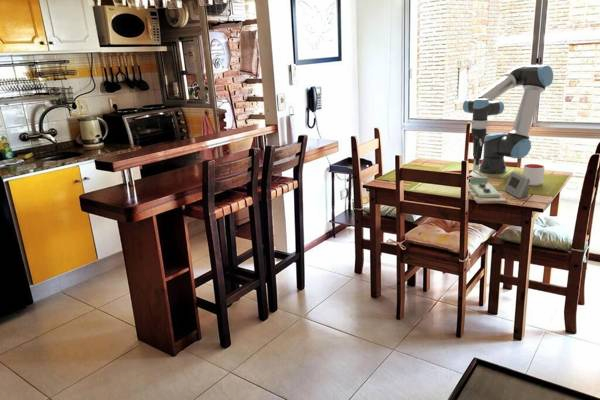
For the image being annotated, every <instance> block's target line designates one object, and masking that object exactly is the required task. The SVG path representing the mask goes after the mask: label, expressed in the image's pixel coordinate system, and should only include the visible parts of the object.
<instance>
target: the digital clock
mask: <svg viewBox="0 0 600 400" xmlns="http://www.w3.org/2000/svg"><path fill="white" fill-rule="evenodd" d="M529 182H530V179H529V178H527V177H525V176H523V174H521V173H519V172H516V171H511V173H510V174H509V177H508V179H507V181H506V183H505V186H504V191H506V192H507V193H508V194H510V195H511V196H513V197H514V198H518V199H522V198H525V197H529V189H530V188H529V187H528V186H529V185H528V184H529Z"/></svg>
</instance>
